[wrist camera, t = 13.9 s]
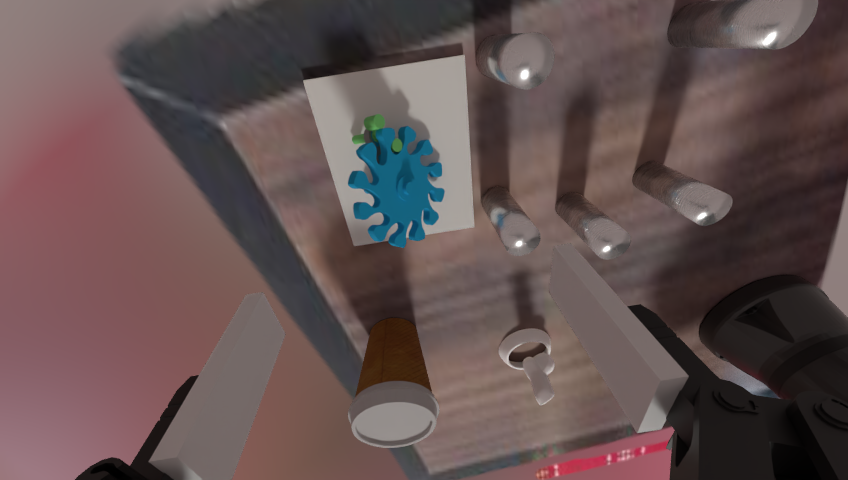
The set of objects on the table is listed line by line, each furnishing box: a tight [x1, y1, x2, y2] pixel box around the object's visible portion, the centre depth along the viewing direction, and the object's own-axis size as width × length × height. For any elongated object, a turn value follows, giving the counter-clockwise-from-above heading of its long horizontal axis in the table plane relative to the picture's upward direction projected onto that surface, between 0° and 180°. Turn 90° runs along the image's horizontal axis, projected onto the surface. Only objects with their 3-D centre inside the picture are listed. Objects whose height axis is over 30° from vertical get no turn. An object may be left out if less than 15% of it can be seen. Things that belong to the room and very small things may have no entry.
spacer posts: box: [476, 0, 818, 259], centre depth 27 cm, size 19×18×8 cm
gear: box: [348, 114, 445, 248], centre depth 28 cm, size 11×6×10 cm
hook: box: [499, 328, 555, 405], centre depth 42 cm, size 8×12×7 cm
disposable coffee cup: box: [348, 318, 439, 448], centre depth 37 cm, size 10×10×12 cm
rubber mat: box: [303, 55, 474, 246], centre depth 30 cm, size 13×16×1 cm
